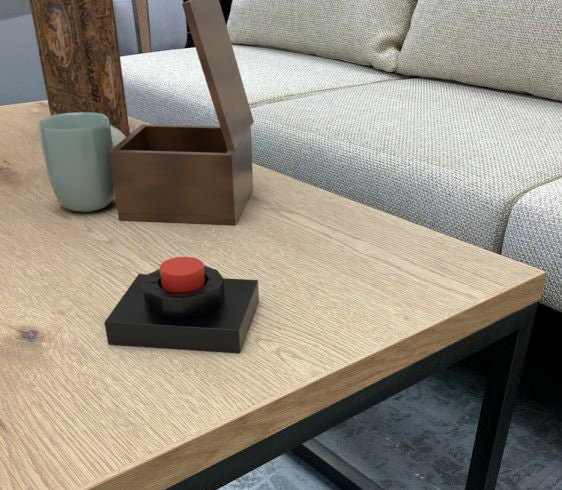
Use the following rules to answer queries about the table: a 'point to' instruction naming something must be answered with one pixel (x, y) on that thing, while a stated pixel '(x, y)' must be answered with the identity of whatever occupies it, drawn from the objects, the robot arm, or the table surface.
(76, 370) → the table surface
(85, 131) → the cup
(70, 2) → the book
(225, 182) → the chest
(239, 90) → the lid
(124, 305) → the black button base
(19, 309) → the table surface
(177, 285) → the button
